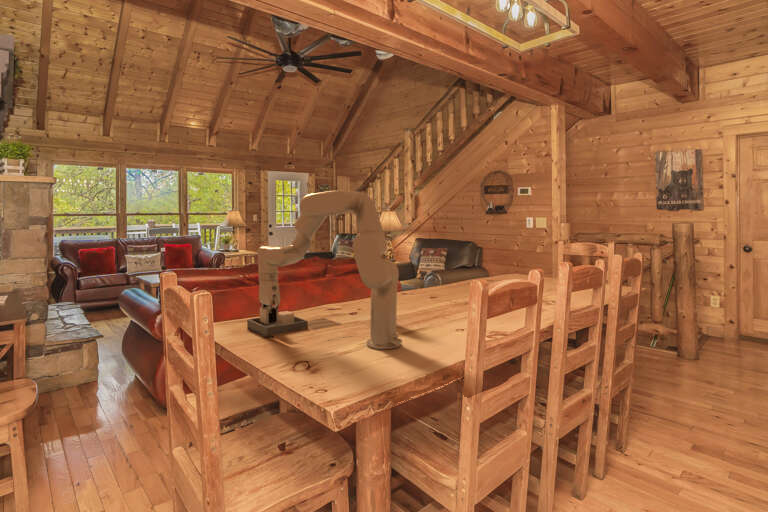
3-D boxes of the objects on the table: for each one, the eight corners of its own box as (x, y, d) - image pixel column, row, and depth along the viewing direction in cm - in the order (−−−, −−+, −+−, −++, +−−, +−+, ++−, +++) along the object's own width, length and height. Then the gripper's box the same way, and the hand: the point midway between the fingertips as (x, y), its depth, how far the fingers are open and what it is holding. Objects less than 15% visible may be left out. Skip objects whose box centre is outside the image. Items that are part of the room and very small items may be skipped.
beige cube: (278, 321, 182) (278, 308, 182) (266, 324, 179) (265, 310, 178) (272, 319, 187) (272, 306, 186) (259, 321, 183) (259, 308, 182)
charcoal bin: (307, 330, 184) (307, 320, 184) (267, 338, 173) (267, 328, 172) (286, 321, 198) (286, 313, 198) (247, 328, 186) (247, 319, 186)
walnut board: (342, 326, 191) (342, 324, 191) (313, 332, 182) (313, 329, 182) (323, 320, 201) (323, 317, 201) (296, 325, 192) (296, 323, 192)
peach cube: (294, 326, 187) (294, 313, 187) (282, 328, 184) (282, 315, 183) (287, 323, 191) (287, 310, 191) (276, 325, 188) (275, 312, 187)
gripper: (287, 278, 177) (287, 323, 179) (267, 273, 190) (268, 315, 192) (269, 280, 172) (270, 326, 174) (250, 275, 185) (251, 318, 187)
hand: (269, 320), depth 183 cm, fingers closed on beige cube, 5 cm apart
